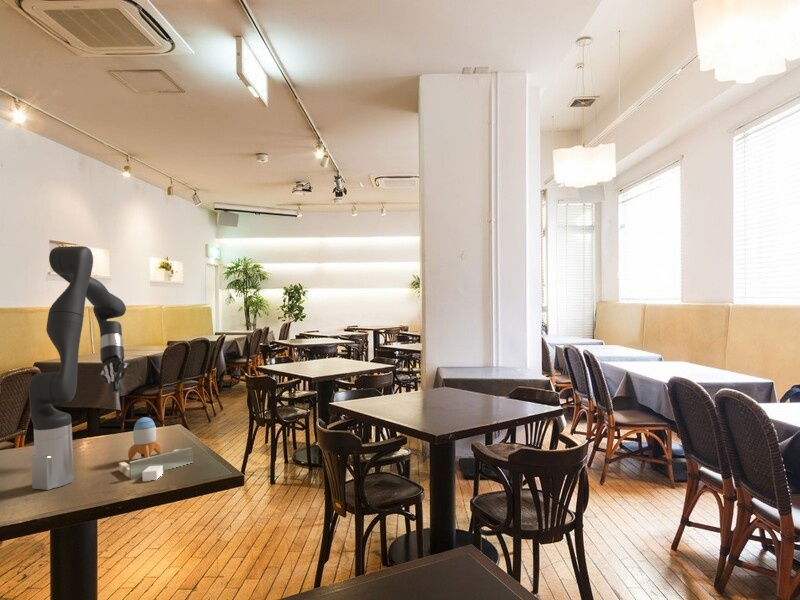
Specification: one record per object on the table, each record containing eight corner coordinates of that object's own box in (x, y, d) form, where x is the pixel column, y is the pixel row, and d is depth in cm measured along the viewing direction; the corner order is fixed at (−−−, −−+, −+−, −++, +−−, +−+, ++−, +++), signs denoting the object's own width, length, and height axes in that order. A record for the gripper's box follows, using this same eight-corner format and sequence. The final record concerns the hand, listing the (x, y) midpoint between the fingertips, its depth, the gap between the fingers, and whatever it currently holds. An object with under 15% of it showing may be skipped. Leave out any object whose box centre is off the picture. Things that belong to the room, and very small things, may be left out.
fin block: (156, 480, 144) (156, 470, 144) (142, 482, 143) (142, 471, 143) (163, 475, 149) (162, 465, 149) (149, 476, 148) (149, 466, 148)
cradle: (118, 470, 154) (118, 454, 154) (177, 455, 167) (177, 441, 167) (131, 479, 145) (130, 462, 145) (192, 463, 158) (192, 448, 158)
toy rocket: (154, 465, 161) (141, 423, 159) (123, 472, 161) (109, 430, 159) (168, 451, 171) (156, 411, 169) (139, 457, 171) (127, 418, 169)
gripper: (134, 343, 181) (137, 387, 174) (107, 357, 184) (109, 400, 177) (116, 339, 174) (119, 384, 167) (89, 353, 177) (91, 398, 170)
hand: (114, 392), depth 172 cm, fingers closed
